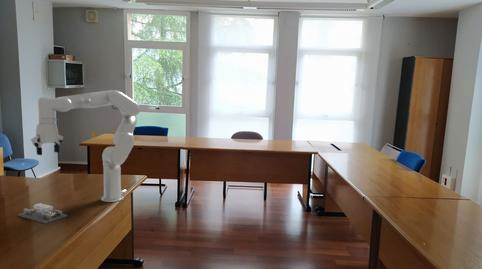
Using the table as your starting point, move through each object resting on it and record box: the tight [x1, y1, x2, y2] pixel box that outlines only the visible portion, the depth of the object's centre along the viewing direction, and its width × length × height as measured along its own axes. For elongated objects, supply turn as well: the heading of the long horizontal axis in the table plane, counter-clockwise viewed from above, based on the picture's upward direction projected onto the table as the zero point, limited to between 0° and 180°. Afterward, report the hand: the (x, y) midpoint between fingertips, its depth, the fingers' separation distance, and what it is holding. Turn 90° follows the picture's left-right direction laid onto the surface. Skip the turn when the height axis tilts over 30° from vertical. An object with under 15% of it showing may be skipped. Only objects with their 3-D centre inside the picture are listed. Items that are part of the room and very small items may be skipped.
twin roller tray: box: [23, 207, 63, 220], centre depth 174 cm, size 7×20×2 cm, turn 64°
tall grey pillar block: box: [33, 202, 54, 217], centre depth 174 cm, size 4×10×5 cm, turn 64°
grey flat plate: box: [17, 212, 68, 224], centre depth 174 cm, size 12×21×1 cm, turn 64°
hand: (48, 153), depth 181 cm, fingers open, 9 cm apart
